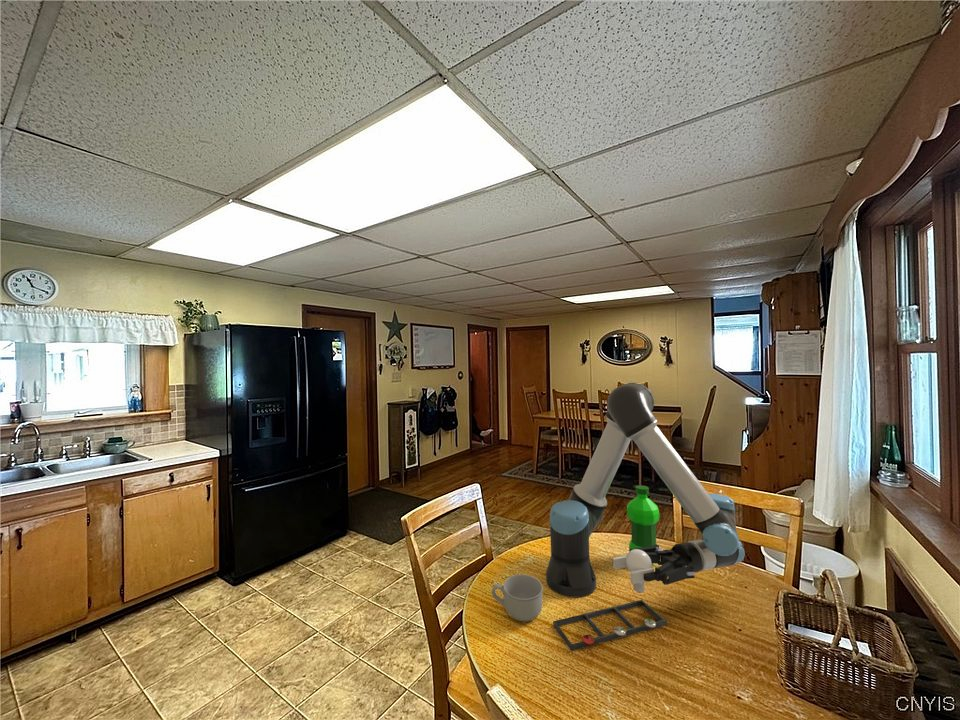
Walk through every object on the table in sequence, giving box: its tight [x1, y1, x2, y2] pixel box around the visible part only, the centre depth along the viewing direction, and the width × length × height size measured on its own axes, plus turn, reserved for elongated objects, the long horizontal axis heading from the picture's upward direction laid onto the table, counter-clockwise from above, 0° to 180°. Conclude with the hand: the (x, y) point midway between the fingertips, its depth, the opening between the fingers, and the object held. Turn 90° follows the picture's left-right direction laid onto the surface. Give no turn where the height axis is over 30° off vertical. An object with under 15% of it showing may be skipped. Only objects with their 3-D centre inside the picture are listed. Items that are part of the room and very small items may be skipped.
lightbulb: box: [625, 549, 653, 594], centre depth 100 cm, size 6×6×11 cm
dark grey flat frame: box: [552, 599, 667, 652], centre depth 97 cm, size 10×28×2 cm, turn 107°
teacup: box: [491, 573, 544, 622], centre depth 103 cm, size 14×11×8 cm
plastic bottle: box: [626, 485, 660, 549], centre depth 129 cm, size 10×10×25 cm
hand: (622, 570), depth 98 cm, fingers closed on lightbulb, 6 cm apart
